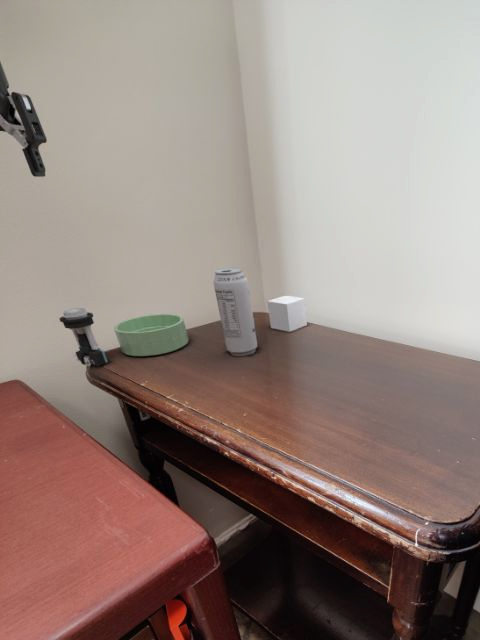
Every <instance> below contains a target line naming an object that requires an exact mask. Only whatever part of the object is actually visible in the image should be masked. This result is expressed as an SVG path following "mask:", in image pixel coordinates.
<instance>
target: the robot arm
mask: <svg viewBox="0 0 480 640" xmlns="http://www.w3.org/2000/svg"><path fill="white" fill-rule="evenodd" d="M8 89H10V83H9V80H8V78H7V75H6V73H5V70H4V67H3V64H2V62H1V61H0V131H3V132H2V133H7V134H8V135H10V136H12V137H13V138H14V139H15V140H16V141H17V142H18V143H19V145H21V147H22V148H21V150H22V152H23V155H24V158H25V161H26V164H27V165H28V168H29V171H30V173H31V175H32V176H33V177H36V178H42V177H43V178H44V177H46V166H45V163H44V161H43V158H42V155H41V152H40V150H39V148H40V146H41V145H42V144H46V143H47V141H48V140H47V136H46V134H45V132H44V128H43V127H42V124H41V121H40V118H39V116H38V114H37V111H36V108H35V106H34V104H33V101H32V98H31V97H30V96H29V95H28V94H25V93H20V92H17V91H16V92H15V91H12V92H9V90H8ZM10 93H11V94H10ZM16 112H17V114H18V116H19V117H18V116H17V115H16Z"/></svg>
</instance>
